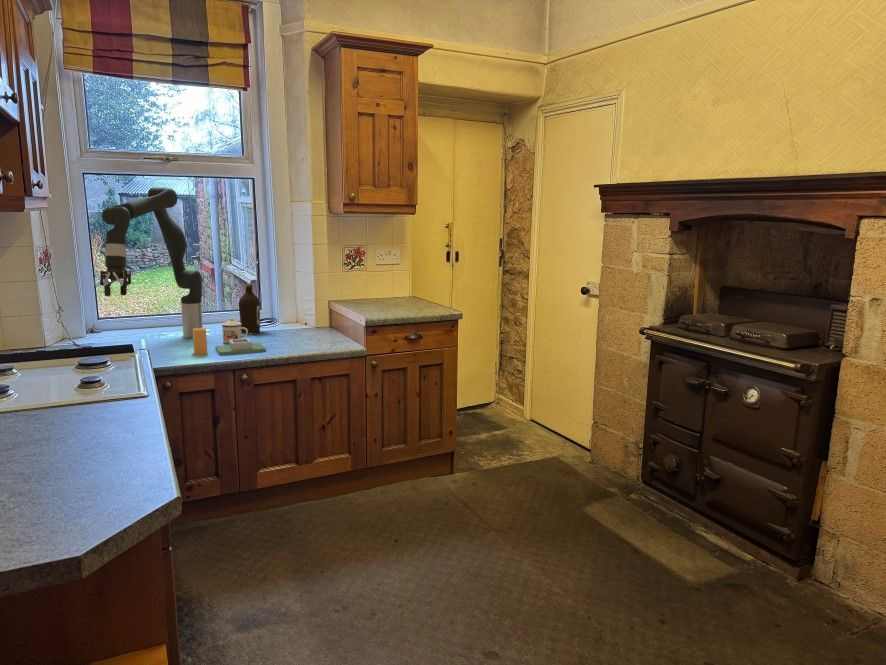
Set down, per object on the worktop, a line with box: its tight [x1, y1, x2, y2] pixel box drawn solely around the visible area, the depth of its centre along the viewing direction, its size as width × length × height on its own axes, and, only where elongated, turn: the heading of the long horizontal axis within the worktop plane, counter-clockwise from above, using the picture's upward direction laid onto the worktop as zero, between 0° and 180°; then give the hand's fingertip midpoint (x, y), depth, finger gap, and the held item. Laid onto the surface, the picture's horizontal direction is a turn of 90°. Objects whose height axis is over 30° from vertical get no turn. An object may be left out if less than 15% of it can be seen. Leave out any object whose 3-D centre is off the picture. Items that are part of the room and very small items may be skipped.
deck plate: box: [214, 337, 267, 356], centre depth 278 cm, size 13×20×4 cm, turn 118°
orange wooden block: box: [192, 327, 208, 356], centre depth 270 cm, size 5×5×11 cm
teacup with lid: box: [221, 317, 249, 345], centre depth 293 cm, size 12×9×12 cm
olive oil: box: [238, 284, 261, 334], centre depth 314 cm, size 11×11×25 cm
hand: (115, 295), depth 246 cm, fingers open, 8 cm apart
